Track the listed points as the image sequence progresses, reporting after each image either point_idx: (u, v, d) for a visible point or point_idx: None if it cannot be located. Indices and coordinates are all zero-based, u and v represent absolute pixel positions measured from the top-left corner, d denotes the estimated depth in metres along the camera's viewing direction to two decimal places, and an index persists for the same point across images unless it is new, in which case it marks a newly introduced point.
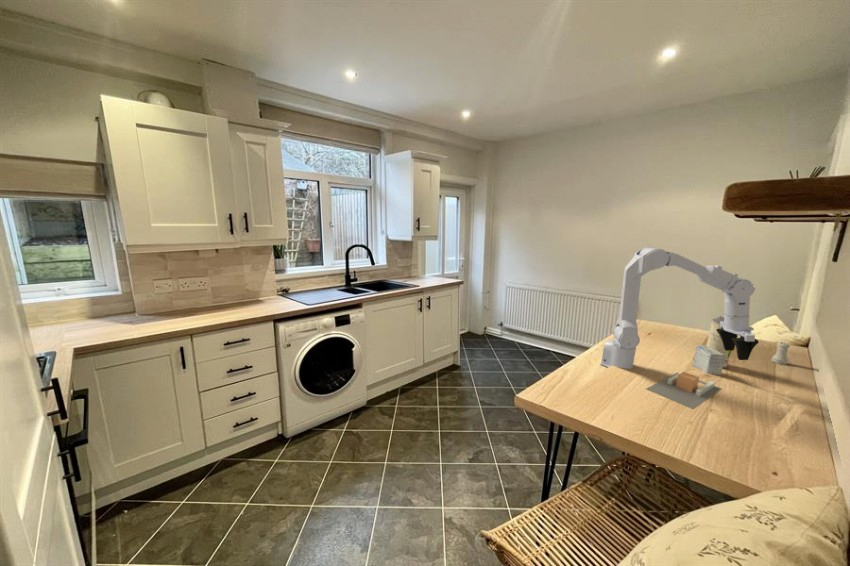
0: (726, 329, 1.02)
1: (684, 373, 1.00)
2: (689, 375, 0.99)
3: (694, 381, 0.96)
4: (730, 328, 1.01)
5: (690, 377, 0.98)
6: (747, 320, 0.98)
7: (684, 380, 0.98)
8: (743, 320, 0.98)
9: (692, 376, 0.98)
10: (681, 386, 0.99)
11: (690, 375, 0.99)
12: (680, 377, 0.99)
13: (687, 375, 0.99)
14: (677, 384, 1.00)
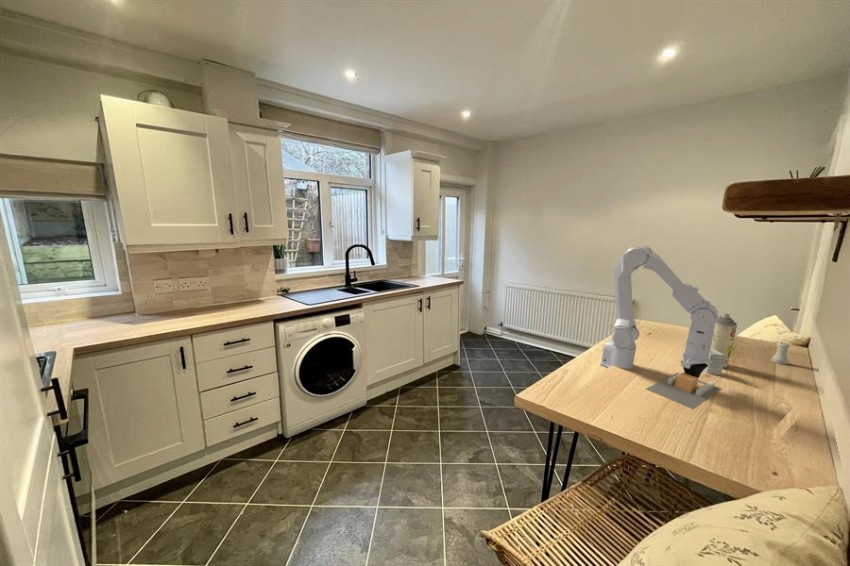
0: (683, 354, 1.01)
1: (683, 374, 1.00)
2: (688, 376, 0.98)
3: (693, 382, 0.96)
4: (685, 353, 1.00)
5: (689, 378, 0.97)
6: (701, 350, 0.96)
7: (683, 381, 0.97)
8: (695, 348, 0.96)
9: (691, 377, 0.98)
10: (680, 387, 0.98)
11: (689, 376, 0.98)
12: (679, 378, 0.98)
13: (686, 376, 0.98)
14: (676, 385, 0.99)
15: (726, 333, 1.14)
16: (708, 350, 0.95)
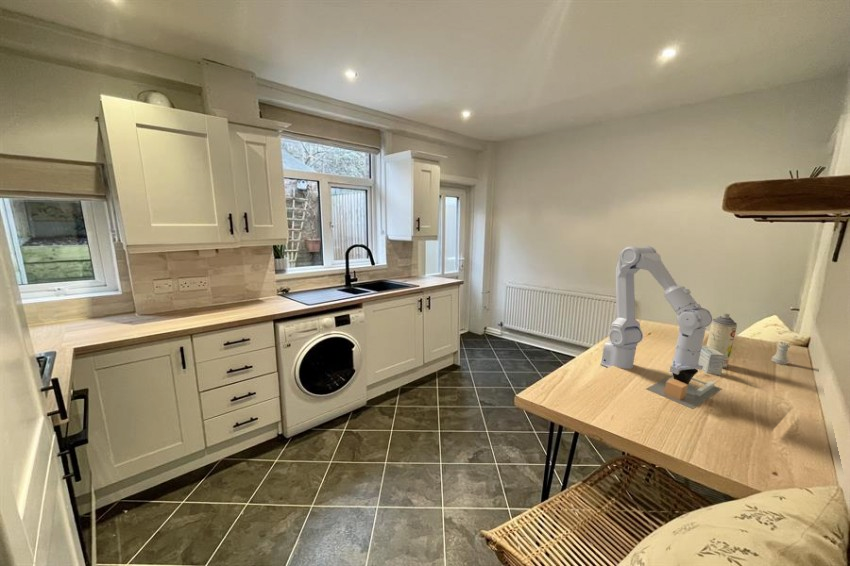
0: None
1: (672, 380, 0.96)
2: (678, 382, 0.94)
3: (682, 388, 0.92)
4: (674, 358, 0.96)
5: (678, 384, 0.93)
6: (690, 355, 0.92)
7: (672, 388, 0.93)
8: (685, 353, 0.92)
9: (681, 383, 0.94)
10: (669, 393, 0.94)
11: (679, 382, 0.94)
12: (668, 384, 0.94)
13: (675, 382, 0.94)
14: (665, 391, 0.95)
15: (726, 333, 1.14)
16: (698, 355, 0.92)
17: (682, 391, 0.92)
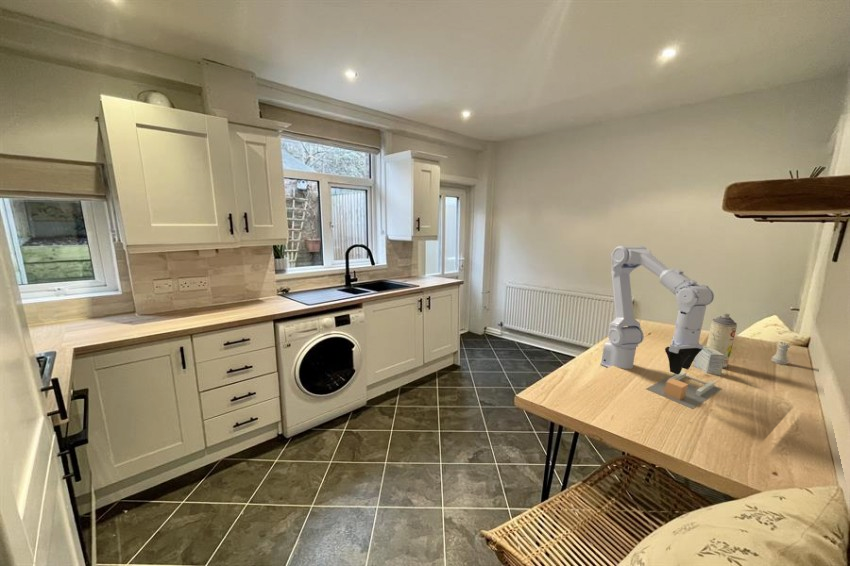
0: (672, 339, 0.94)
1: (672, 380, 0.96)
2: (678, 382, 0.94)
3: (682, 388, 0.92)
4: (673, 338, 0.93)
5: (678, 384, 0.93)
6: (690, 334, 0.88)
7: (672, 388, 0.93)
8: (685, 332, 0.89)
9: (681, 383, 0.94)
10: (669, 393, 0.94)
11: (679, 382, 0.94)
12: (668, 384, 0.94)
13: (675, 382, 0.94)
14: (665, 391, 0.95)
15: (726, 333, 1.14)
16: (698, 334, 0.88)
17: (682, 391, 0.92)
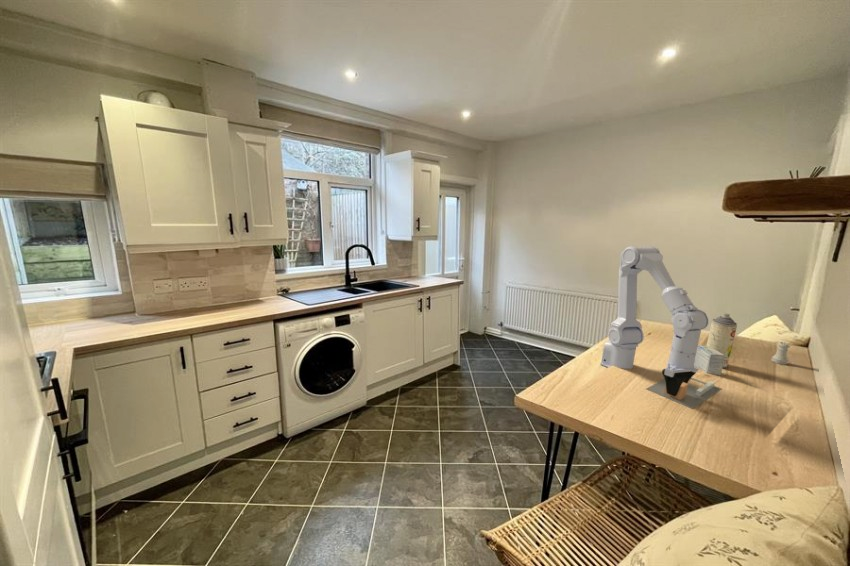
0: None
1: None
2: None
3: (683, 388, 0.92)
4: (669, 361, 0.94)
5: None
6: (685, 358, 0.90)
7: None
8: (680, 356, 0.91)
9: None
10: None
11: None
12: None
13: None
14: (665, 391, 0.95)
15: (726, 333, 1.14)
16: (693, 358, 0.90)
17: (682, 391, 0.92)
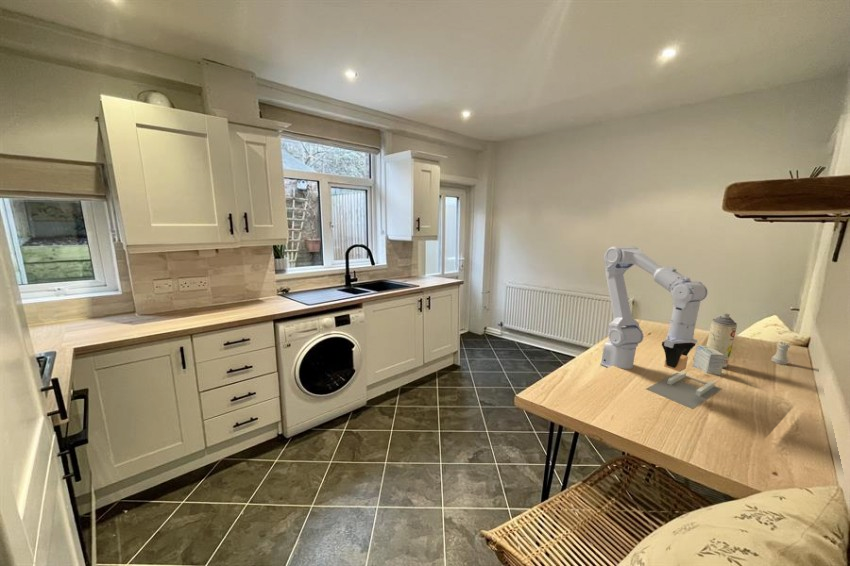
0: (667, 334, 0.96)
1: None
2: None
3: (683, 360, 0.93)
4: (668, 333, 0.95)
5: None
6: (685, 329, 0.91)
7: None
8: (679, 327, 0.92)
9: (681, 356, 0.95)
10: (669, 366, 0.95)
11: None
12: None
13: None
14: (665, 364, 0.96)
15: (726, 333, 1.14)
16: (692, 329, 0.91)
17: (682, 363, 0.93)
